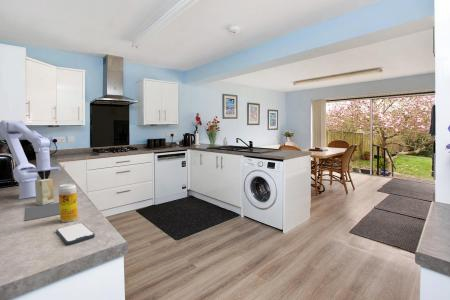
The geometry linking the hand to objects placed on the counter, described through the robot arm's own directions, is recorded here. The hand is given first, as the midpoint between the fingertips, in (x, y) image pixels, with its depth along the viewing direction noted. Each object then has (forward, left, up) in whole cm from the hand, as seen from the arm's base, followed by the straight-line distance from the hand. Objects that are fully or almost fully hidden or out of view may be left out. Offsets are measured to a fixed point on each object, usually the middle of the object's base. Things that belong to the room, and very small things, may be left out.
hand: (45, 184), depth 125 cm
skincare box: (+10, 0, -8) cm, 12 cm away
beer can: (+42, +6, -8) cm, 44 cm away
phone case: (+60, +7, -8) cm, 61 cm away
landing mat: (+22, 0, -8) cm, 24 cm away
